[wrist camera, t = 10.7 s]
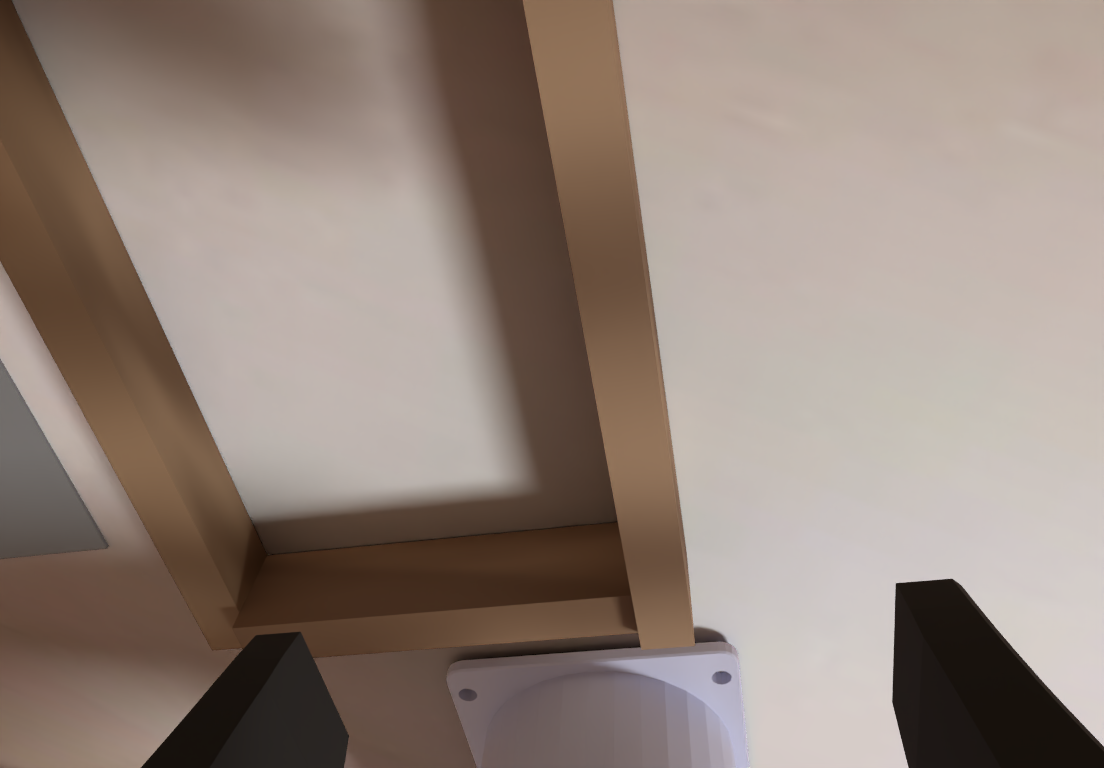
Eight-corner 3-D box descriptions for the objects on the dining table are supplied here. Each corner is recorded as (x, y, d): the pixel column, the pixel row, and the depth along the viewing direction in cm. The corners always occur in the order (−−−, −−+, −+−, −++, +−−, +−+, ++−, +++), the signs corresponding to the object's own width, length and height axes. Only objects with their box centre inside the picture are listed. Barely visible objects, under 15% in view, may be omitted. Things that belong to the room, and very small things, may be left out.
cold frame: (686, 552, 22) (695, 645, 20) (240, 592, 24) (195, 682, 22) (564, -359, 13) (552, -404, 10) (-145, -186, 15) (-303, -188, 12)
